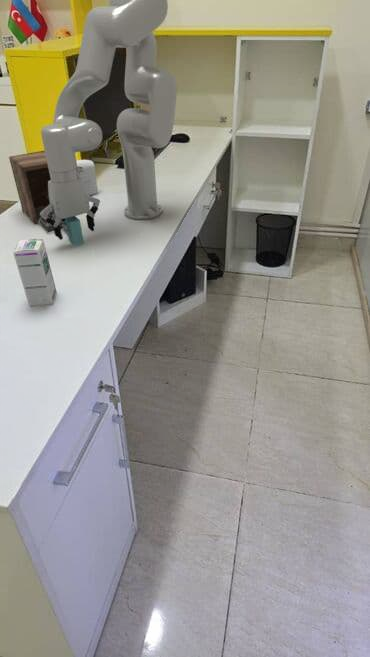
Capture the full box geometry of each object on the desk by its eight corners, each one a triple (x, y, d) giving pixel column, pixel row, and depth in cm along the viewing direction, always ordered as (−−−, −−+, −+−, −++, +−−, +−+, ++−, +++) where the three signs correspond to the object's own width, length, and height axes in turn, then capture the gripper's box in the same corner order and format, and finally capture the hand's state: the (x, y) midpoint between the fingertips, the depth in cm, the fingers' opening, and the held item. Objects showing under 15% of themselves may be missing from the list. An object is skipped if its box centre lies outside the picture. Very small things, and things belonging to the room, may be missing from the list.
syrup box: (53, 304, 106) (39, 249, 97) (28, 306, 106) (12, 251, 97) (56, 291, 111) (44, 238, 102) (32, 293, 110) (18, 239, 102)
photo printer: (95, 190, 168) (90, 156, 160) (100, 193, 165) (95, 159, 157) (69, 196, 163) (62, 161, 156) (73, 200, 160) (67, 164, 153)
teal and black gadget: (94, 239, 133) (91, 217, 128) (62, 248, 128) (58, 225, 124) (69, 216, 147) (65, 195, 143) (40, 223, 143) (35, 202, 139)
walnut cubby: (72, 215, 149) (61, 160, 138) (34, 224, 144) (21, 167, 133) (58, 202, 158) (47, 150, 148) (22, 210, 153) (8, 156, 142)
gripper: (89, 165, 126) (98, 222, 137) (28, 177, 119) (42, 236, 130) (99, 172, 121) (108, 230, 131) (37, 185, 114) (51, 246, 124)
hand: (75, 233), depth 131 cm, fingers open, 9 cm apart
